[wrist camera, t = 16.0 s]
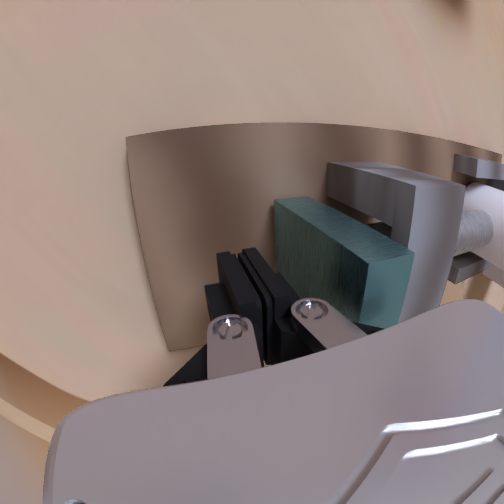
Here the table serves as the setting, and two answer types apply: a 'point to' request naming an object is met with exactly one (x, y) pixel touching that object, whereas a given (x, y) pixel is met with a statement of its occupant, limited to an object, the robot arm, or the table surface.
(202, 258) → the base plate with brackets
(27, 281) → the table surface
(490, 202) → the can
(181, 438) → the robot arm
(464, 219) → the shaft
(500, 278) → the milk carton
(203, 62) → the table surface
